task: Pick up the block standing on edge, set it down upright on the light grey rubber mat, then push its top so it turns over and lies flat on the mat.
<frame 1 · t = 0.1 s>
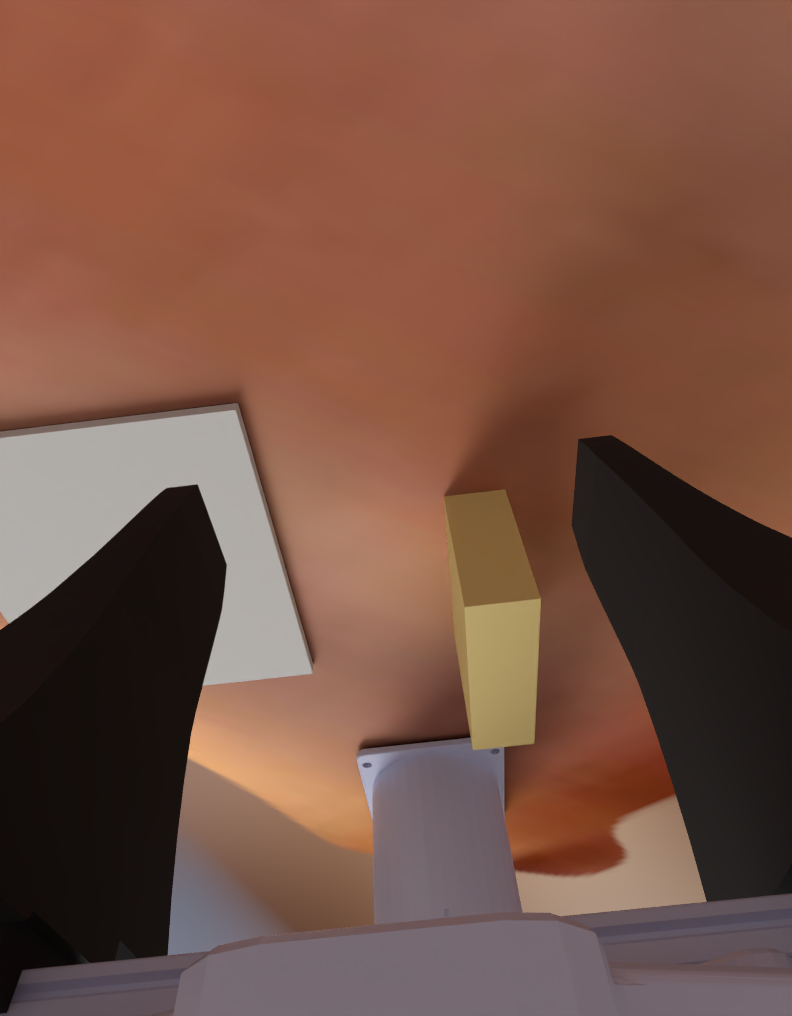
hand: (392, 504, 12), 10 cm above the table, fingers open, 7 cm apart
mat: (137, 571, 26), on the table
block: (477, 567, 27), on the table
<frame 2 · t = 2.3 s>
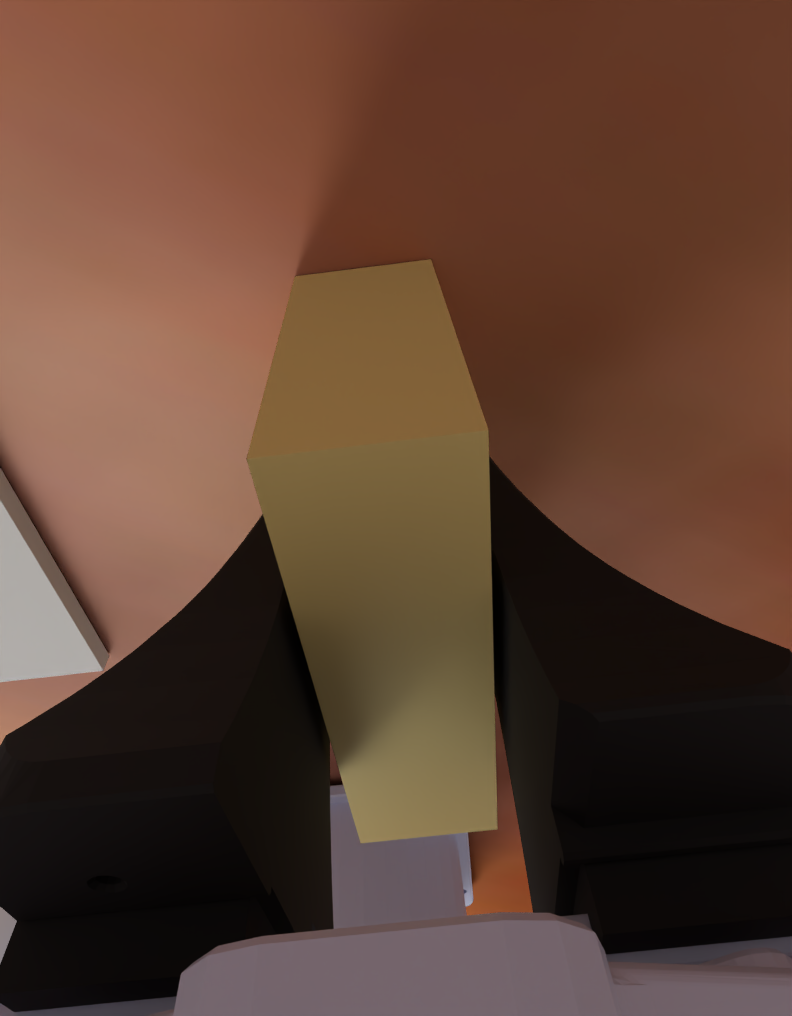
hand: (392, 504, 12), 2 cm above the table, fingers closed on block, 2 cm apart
block: (388, 459, 13), on the table, touching gripper
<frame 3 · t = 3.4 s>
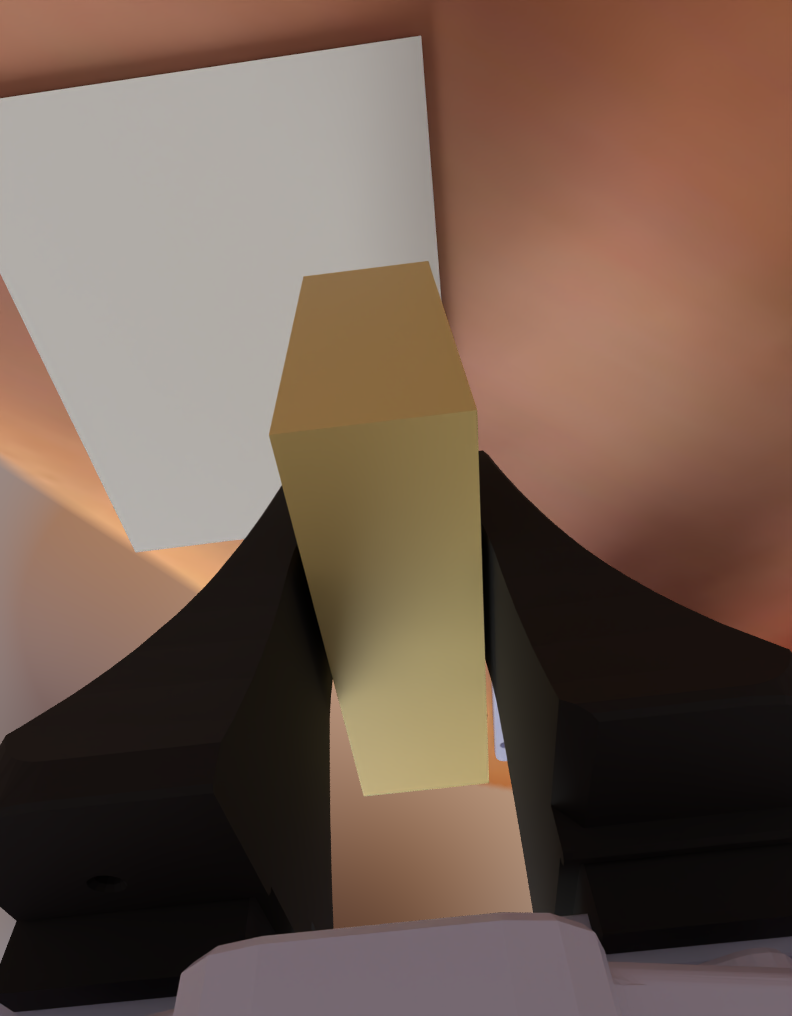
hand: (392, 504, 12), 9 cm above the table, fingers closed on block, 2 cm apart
mat: (247, 347, 19), on the table
block: (389, 447, 14), point 6 cm above the table, touching gripper
when the fingers open (2 cm above the table, at t = 5.0 s): block stays where it is, resting on mat.
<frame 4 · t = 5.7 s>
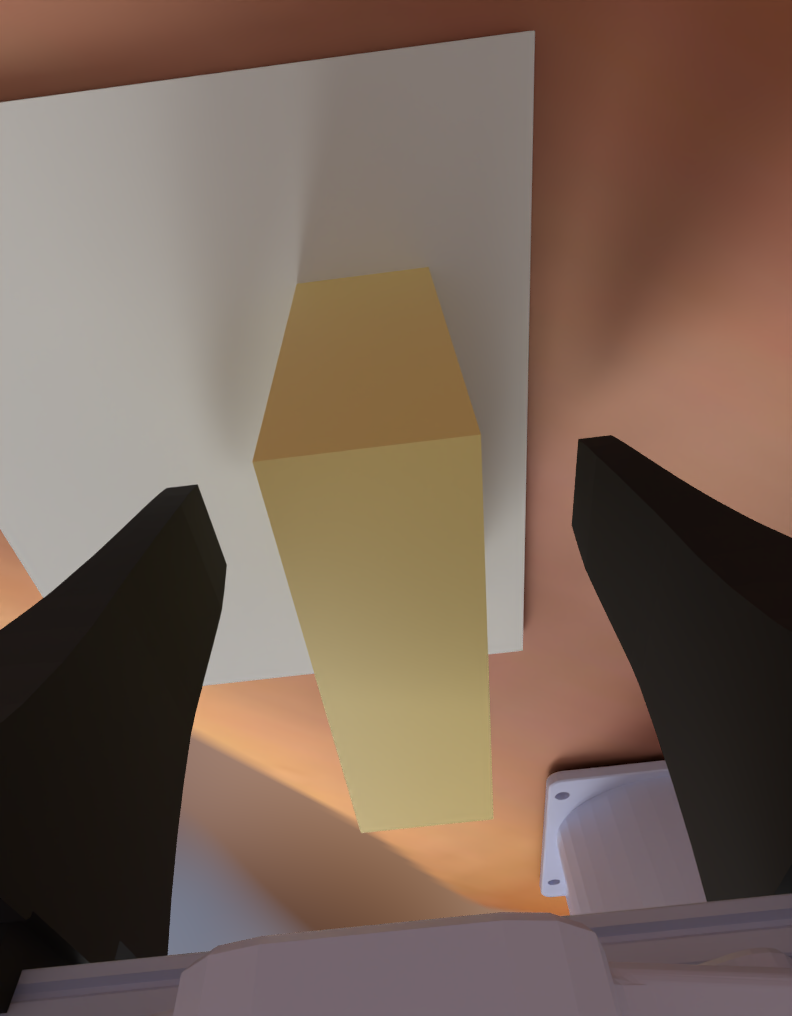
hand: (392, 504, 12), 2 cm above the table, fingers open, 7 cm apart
mat: (254, 456, 14), on the table
block: (388, 461, 14), resting on mat
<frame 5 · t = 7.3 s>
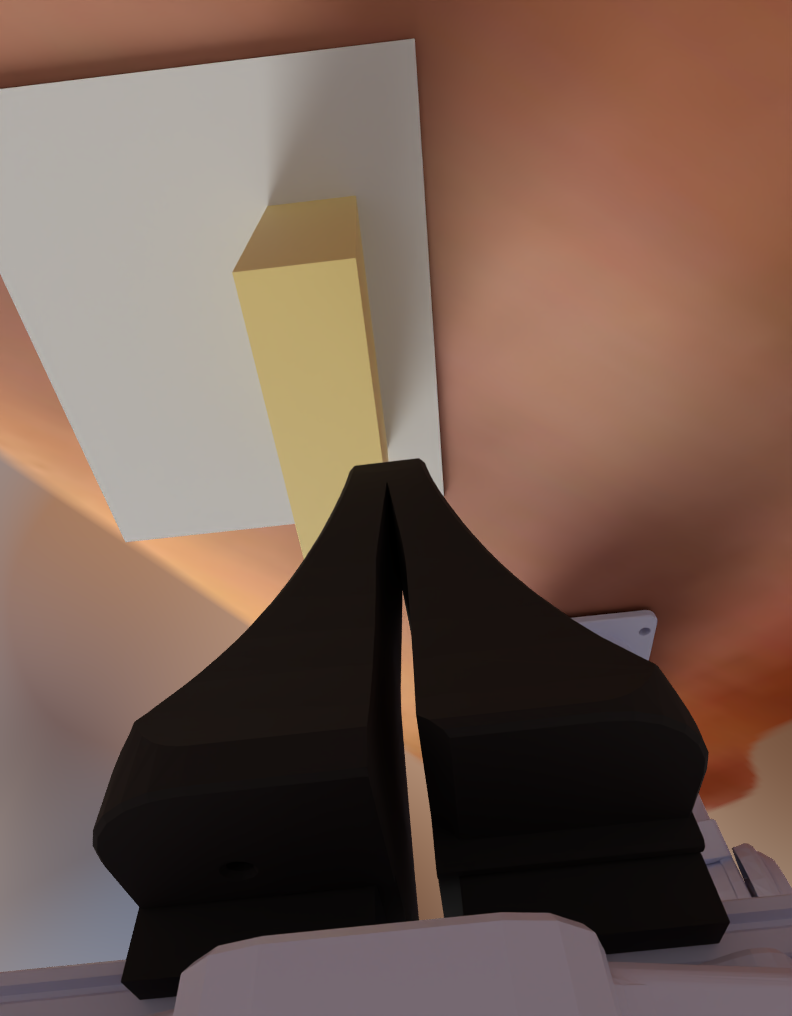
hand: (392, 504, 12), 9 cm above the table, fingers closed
mat: (240, 340, 20), on the table
block: (334, 342, 19), resting on mat
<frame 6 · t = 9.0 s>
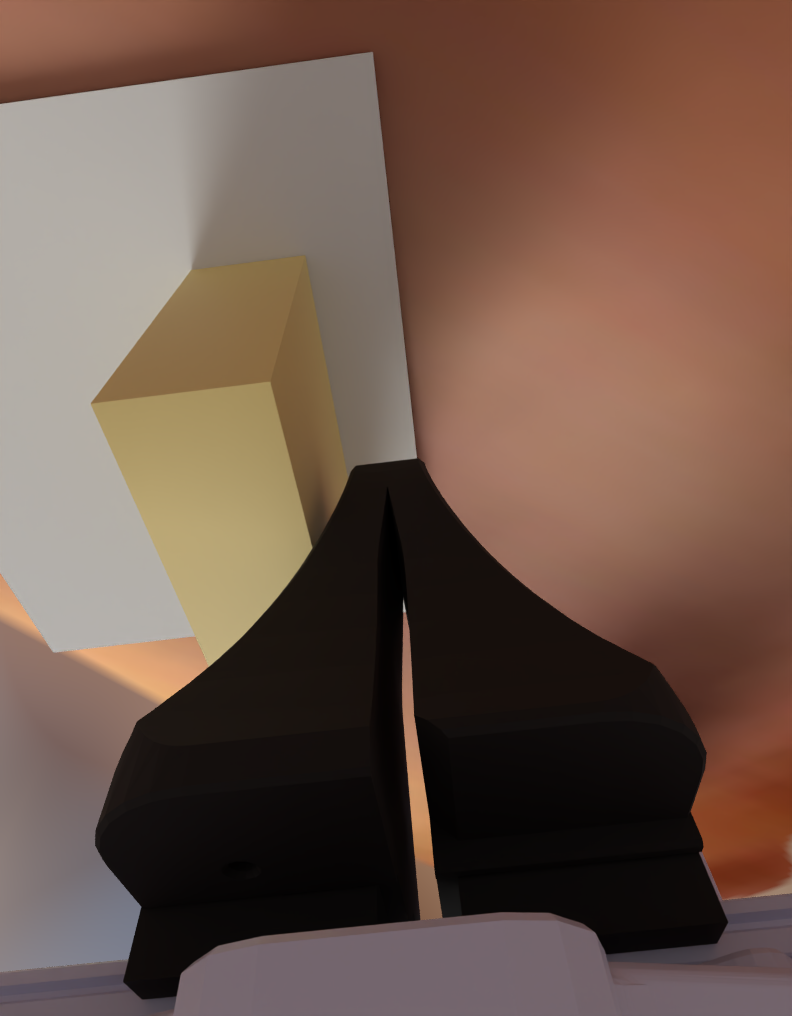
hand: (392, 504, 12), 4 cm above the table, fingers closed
mat: (172, 427, 16), on the table
block: (289, 430, 15), point 1 cm above the table, touching gripper, mat
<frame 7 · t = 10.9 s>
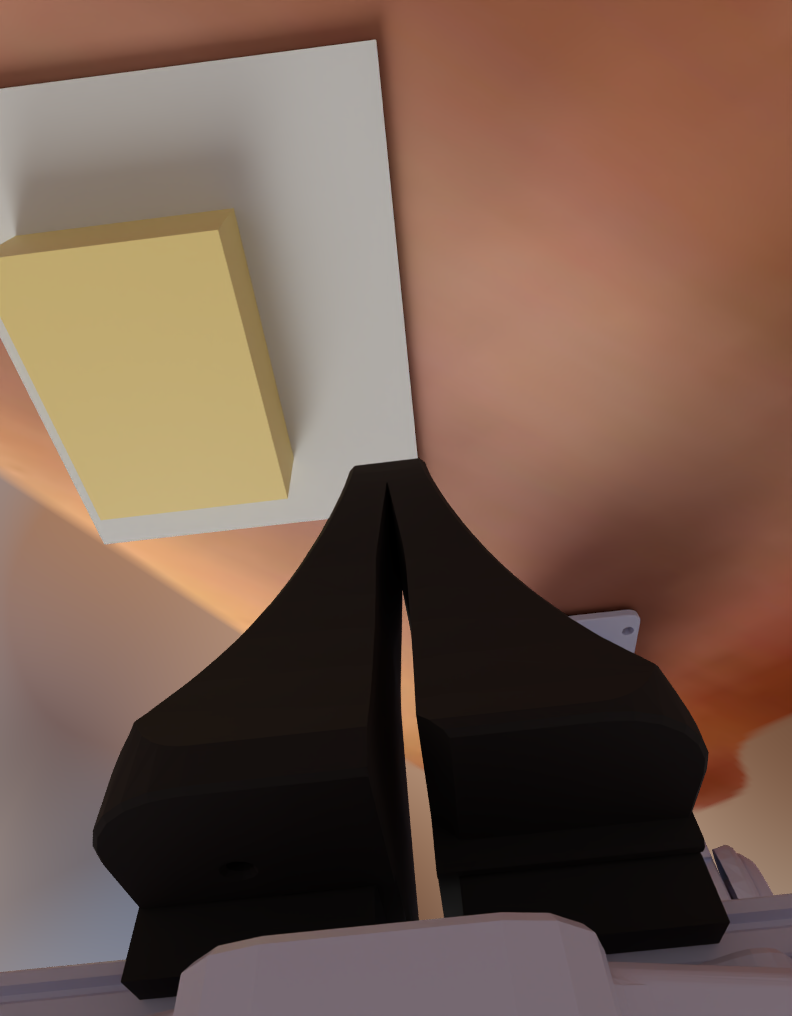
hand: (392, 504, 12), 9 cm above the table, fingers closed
mat: (212, 342, 20), on the table
block: (262, 364, 18), point 2 cm above the table, tilted 90°, touching mat
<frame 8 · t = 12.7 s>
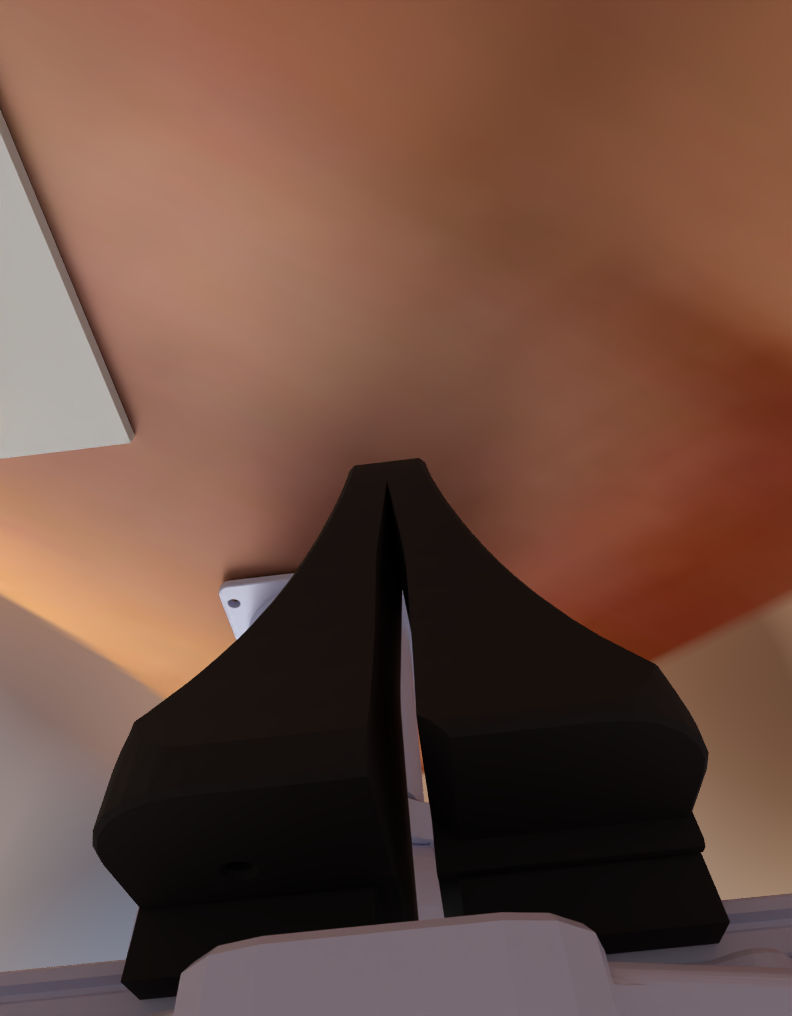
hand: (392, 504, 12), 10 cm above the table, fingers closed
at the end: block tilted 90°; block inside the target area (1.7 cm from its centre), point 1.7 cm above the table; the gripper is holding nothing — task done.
